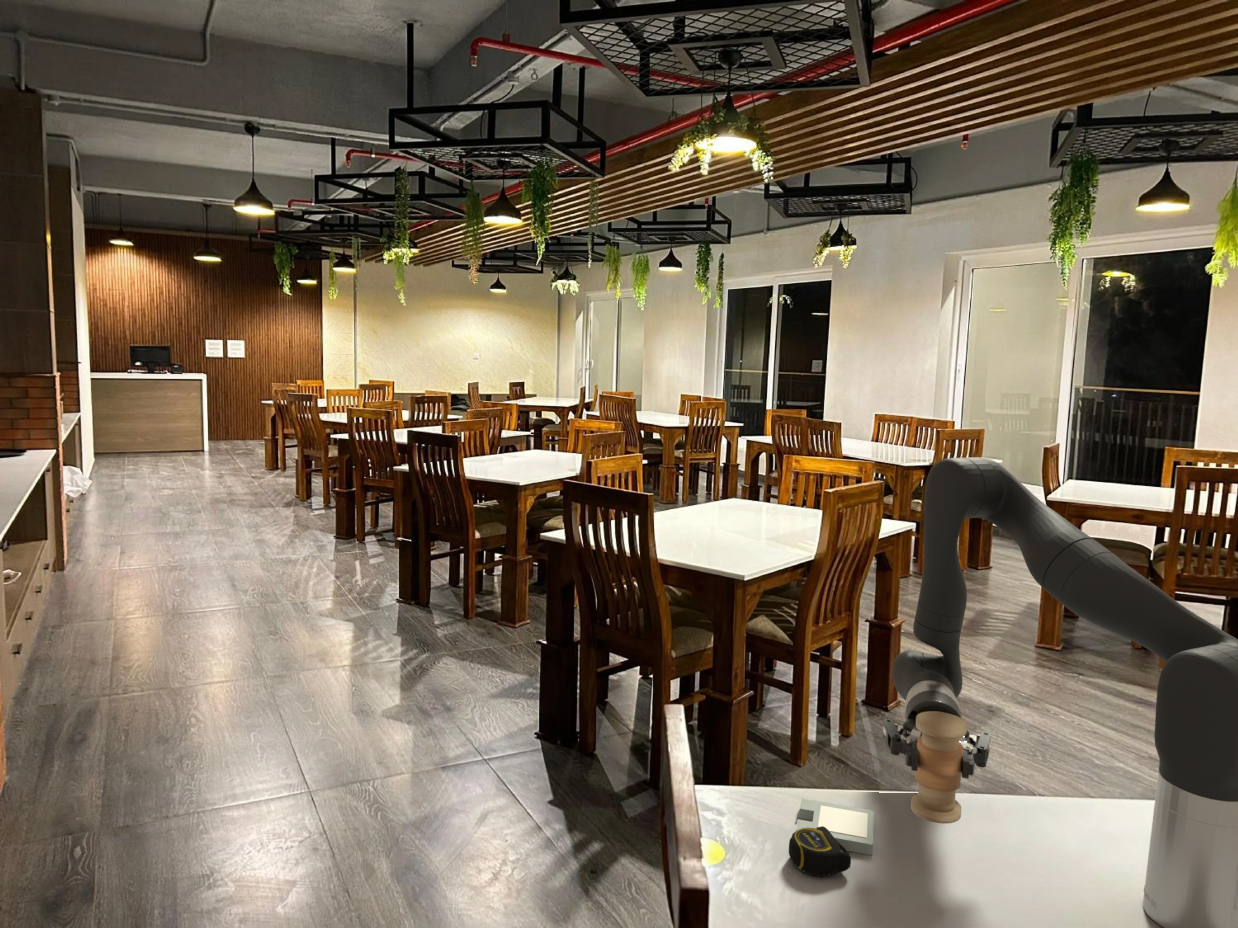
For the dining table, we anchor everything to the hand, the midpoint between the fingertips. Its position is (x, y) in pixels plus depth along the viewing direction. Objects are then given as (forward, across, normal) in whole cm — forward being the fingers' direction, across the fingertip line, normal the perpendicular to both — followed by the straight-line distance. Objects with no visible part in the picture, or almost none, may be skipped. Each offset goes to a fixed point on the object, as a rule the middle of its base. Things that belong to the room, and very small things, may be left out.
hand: (940, 766), depth 108 cm
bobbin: (-3, 0, +7) cm, 7 cm away
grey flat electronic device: (-7, -12, +15) cm, 21 cm away
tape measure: (+1, -14, +15) cm, 21 cm away
